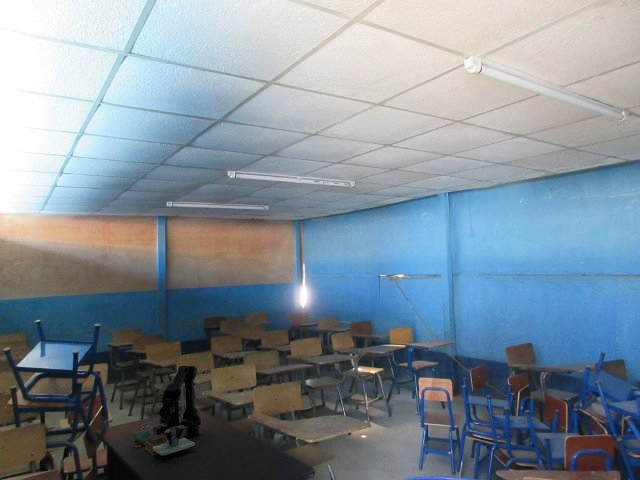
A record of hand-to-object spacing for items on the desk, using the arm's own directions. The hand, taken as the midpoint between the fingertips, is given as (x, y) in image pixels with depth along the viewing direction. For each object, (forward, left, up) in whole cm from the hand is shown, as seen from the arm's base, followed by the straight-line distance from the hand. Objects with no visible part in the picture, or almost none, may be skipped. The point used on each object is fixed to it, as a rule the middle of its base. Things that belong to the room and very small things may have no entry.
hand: (173, 444), depth 219 cm
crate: (0, -12, -5) cm, 14 cm away
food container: (+5, -27, -6) cm, 28 cm away
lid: (0, 0, -3) cm, 3 cm away
